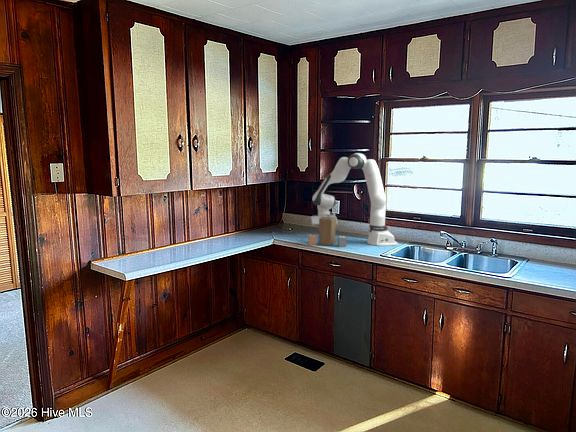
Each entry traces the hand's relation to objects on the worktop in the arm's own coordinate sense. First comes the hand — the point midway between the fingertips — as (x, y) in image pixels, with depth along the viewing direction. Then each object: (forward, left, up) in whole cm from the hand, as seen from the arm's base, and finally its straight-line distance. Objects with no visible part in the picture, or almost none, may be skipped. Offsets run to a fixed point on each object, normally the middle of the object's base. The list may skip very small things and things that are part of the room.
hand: (325, 230), depth 324 cm
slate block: (-10, +18, -8) cm, 22 cm away
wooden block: (0, +11, -8) cm, 14 cm away
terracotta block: (+11, +12, -8) cm, 18 cm away
